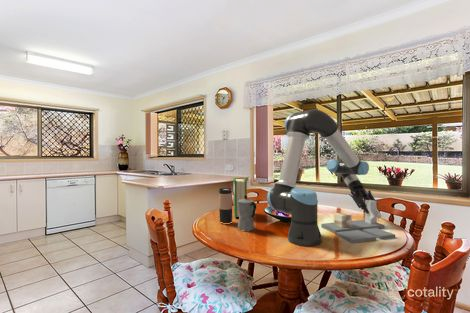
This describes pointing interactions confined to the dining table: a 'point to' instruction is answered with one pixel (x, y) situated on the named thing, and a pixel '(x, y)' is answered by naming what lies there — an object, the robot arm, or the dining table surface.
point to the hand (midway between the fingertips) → (376, 217)
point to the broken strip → (364, 235)
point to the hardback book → (239, 192)
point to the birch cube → (343, 219)
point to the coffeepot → (246, 214)
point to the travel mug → (225, 205)
